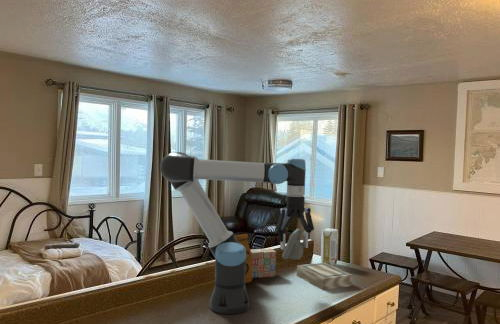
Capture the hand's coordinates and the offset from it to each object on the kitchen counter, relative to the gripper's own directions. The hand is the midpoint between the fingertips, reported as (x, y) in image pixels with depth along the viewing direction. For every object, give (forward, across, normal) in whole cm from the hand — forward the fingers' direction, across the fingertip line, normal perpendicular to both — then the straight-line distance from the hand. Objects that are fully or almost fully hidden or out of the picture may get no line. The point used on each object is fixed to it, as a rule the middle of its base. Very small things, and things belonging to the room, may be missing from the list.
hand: (294, 248), depth 169 cm
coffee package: (+20, -16, +22) cm, 33 cm away
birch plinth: (+19, +23, +11) cm, 32 cm away
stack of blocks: (+20, -5, +29) cm, 36 cm away
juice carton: (+20, +42, +33) cm, 57 cm away
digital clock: (+4, -1, +1) cm, 4 cm away
